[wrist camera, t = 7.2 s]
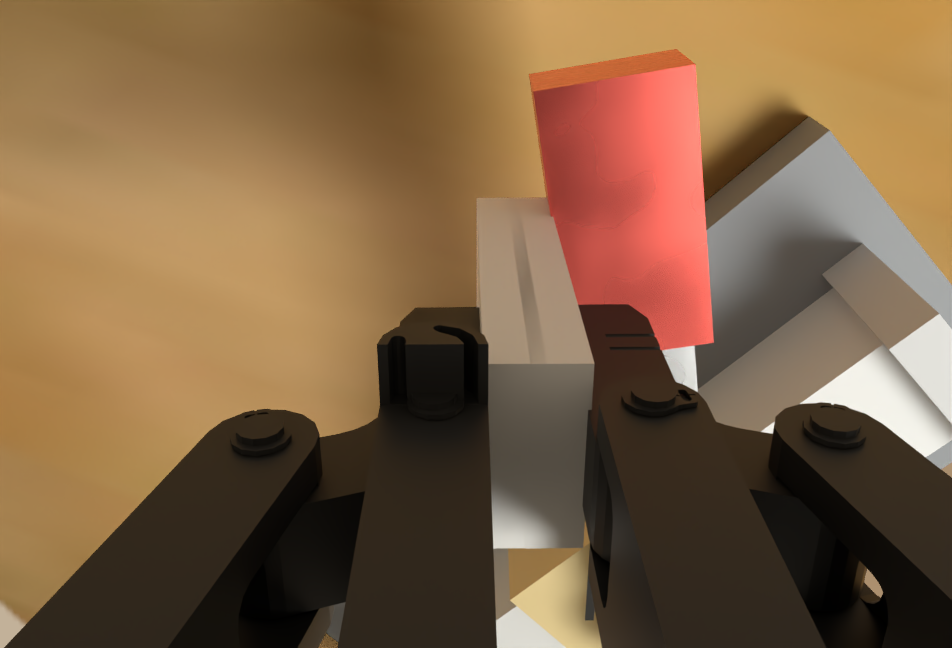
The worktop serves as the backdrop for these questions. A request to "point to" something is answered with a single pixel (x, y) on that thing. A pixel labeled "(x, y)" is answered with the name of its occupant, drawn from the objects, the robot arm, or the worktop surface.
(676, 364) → the lever
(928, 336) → the valve board
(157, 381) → the worktop surface
